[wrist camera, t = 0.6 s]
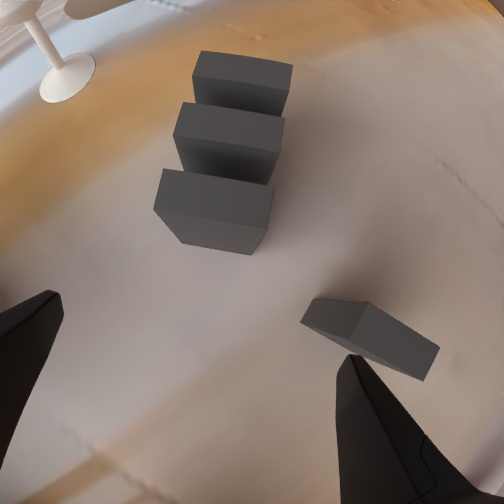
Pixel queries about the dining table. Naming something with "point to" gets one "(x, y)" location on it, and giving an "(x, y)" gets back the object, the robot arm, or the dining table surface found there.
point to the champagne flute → (49, 53)
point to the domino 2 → (228, 142)
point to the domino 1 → (241, 82)
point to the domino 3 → (214, 210)
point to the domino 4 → (372, 335)
